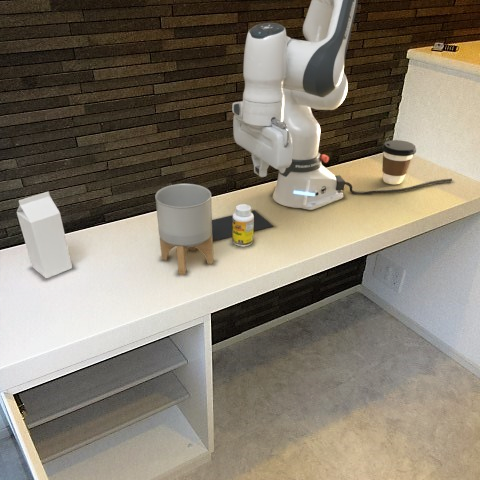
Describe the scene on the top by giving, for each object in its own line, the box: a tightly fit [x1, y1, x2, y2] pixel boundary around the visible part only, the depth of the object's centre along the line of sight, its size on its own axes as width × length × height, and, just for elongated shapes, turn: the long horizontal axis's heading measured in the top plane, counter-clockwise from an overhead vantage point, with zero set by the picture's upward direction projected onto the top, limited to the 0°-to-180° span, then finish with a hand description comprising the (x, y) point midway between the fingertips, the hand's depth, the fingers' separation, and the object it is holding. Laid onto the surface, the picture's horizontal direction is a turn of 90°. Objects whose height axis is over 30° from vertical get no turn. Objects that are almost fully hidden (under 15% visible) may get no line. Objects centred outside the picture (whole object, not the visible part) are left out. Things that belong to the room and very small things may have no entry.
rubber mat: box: [212, 210, 274, 242], centre depth 142 cm, size 20×11×1 cm, turn 118°
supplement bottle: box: [231, 203, 254, 247], centre depth 131 cm, size 6×6×10 cm
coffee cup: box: [381, 139, 417, 185], centre depth 165 cm, size 11×11×12 cm
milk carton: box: [16, 191, 73, 280], centre depth 117 cm, size 7×7×19 cm
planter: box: [154, 183, 214, 275], centre depth 121 cm, size 13×13×18 cm
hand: (260, 174), depth 115 cm, fingers closed
